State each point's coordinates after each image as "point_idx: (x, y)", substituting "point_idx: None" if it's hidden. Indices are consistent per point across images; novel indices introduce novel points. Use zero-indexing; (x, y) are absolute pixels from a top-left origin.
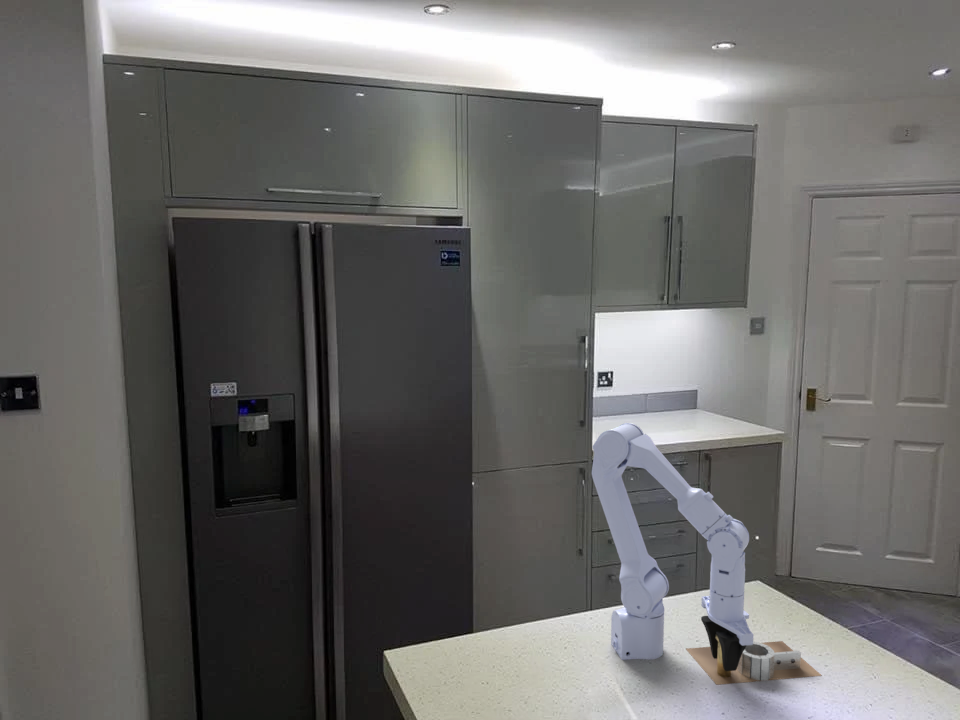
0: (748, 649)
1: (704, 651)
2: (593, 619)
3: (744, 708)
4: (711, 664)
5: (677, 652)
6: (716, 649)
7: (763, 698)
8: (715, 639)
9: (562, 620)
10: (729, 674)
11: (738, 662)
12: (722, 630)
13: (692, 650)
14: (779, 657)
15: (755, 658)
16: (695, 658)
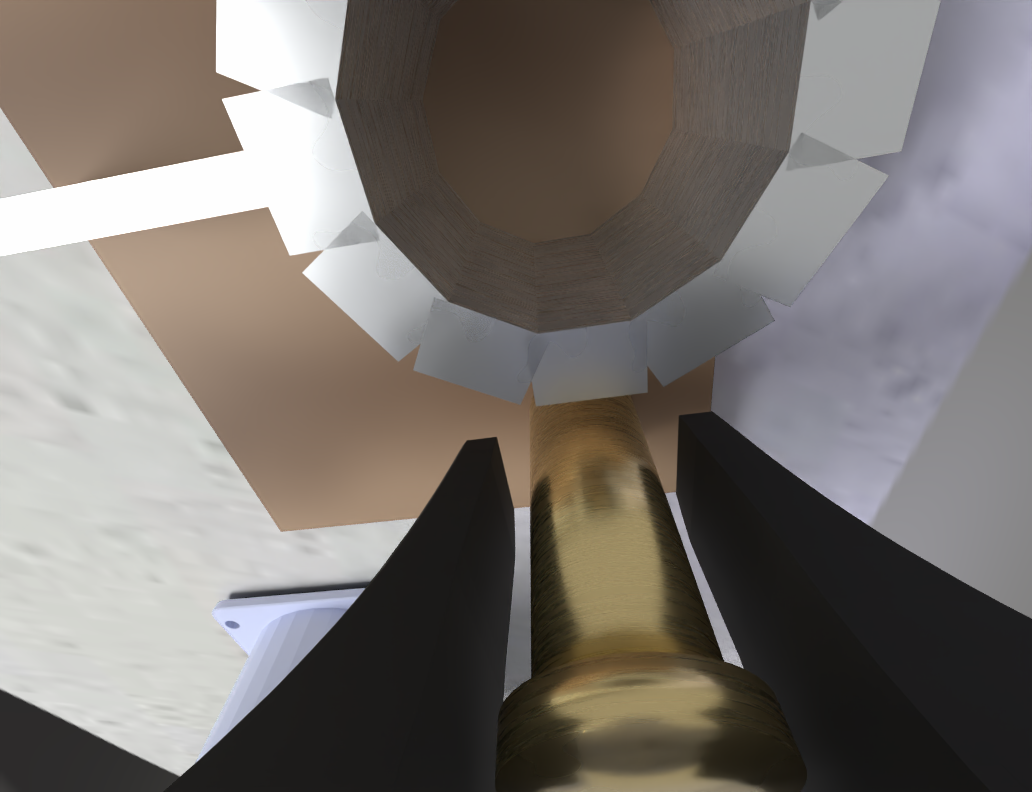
0: (388, 177)
1: (280, 443)
2: (117, 719)
3: (925, 372)
4: (459, 450)
5: (293, 534)
6: (503, 564)
7: None
8: (494, 680)
9: (182, 770)
10: (630, 399)
11: (763, 454)
12: (463, 787)
13: (293, 505)
14: None
15: (823, 255)
16: (395, 514)
